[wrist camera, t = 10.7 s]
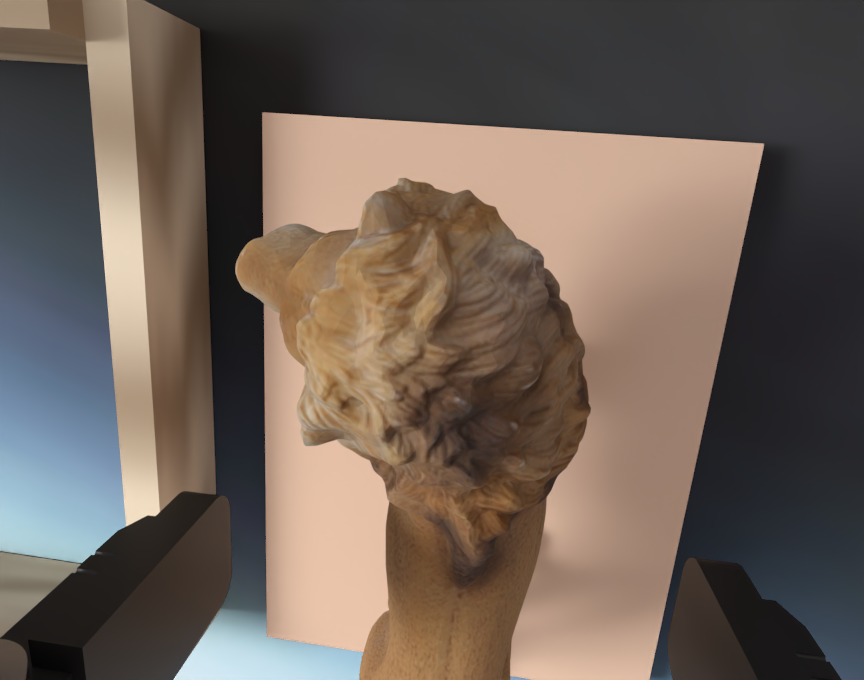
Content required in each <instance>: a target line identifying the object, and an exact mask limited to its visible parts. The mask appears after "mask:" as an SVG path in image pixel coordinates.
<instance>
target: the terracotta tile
mask: <svg viewBox="0 0 864 680" xmlns="http://www.w3.org/2000/svg"><path fill="white" fill-rule="evenodd" d="M763 148H764V144H761V143H745V142H729V141H713V140H697V139H681V138H665V137H649V136H633V135H617V134H601V133H585V132H569V131H553V130H537V129H521V128H505V127H489V126H474V125H458V124H442V123H426V122H410V121H394V120H378V119H362V118H346V117H330V116H314V115H298V114H282V113H266V112H262V149H263V237H264V236H265V235H266V234H268V233H269V232H271V231H273V230H275V229H276V228H278V227H281V226H284V225H287V224H302V225H305V226H308V227H311V228H312V229H314V230H316V231H318V232H322V233H329V232H331V231H337V230H350V229H355V228H358V227H359V223H360V220H361V217H362V211H363V206H364V204H365V202H366V201H367V200H368V199H369V198H370V197H371V196H372V195H373V194H374V193H375V192H377V191H384V190H386V189H388V188H390V187H392V186H396V184H397V182H398V179H399V178H407V179H409V180H411V181H415V182H426V183H429V184H431V185H432V186H433V187H434V188H435V189H439V190H442V191H446V192H450V193H453V194H455V193H457V192H460V191H463V190H466V189H467V190H470V191H471V192H472V193H473V194H474V195H475V196H476V197H477V198H478V199H479V200H481V201H482V202H483V203H485V204H487V205H491V206H494V207H496V209H497V211H498V214H499V216H500V217H501V219H502V220H503V222H504V223H505V224H506V225H507V226H508V227H509V228H510V229H511V230H512V231H513V233H514V235H515V236H516V238H517V239H519V240H523V241H524V242H526V243H528V244H529V245H531V246H532V247H534V248H536V249H538V250H539V251H540V252H541V254H542V255H543V257H544V268H546V269H548V270H549V271H550V272H551V273H552V274H553V276H554V277H555V278H556V280H557V281H558V283H559V285H560V295H559V296H560V299H561V300H563V301H564V302H566V303H568V305H569V307H570V310H571V312H572V317H573V323H574V326H575V329H576V331H577V333H578V335H579V336H580V338H581V339H582V340H583V343H584V346H585V355H584V357H583V359H582V366H583V375H584V377H585V379H586V381H587V387H588V396H589V405H590V407H591V412H590V415H589V416H588V418H587V425H586V429H585V433H584V436H583V439H582V440H581V442H580V443H579V447H578V451H577V453H576V454H575V456H574V457H573V459H572V461H571V462H570V463H569V464H568V466H567V468H566V469H565V470H563V471H562V472H561V473H560V474H559V475H558V477H557V478H556V480H555V483H554V485H553V488H552V490H551V492H550V493H549V495H548V496H547V503H546V515H545V522H544V529H543V534H542V540H541V546H540V551H539V555H538V559H537V563H536V566H535V570H534V573H533V576H532V579H531V582H530V585H529V588H528V591H527V594H526V597H525V600H524V603H523V606H522V609H521V612H520V615H519V618H518V621H517V624H516V627H515V630H514V633H513V636H512V642H511V659H510V676H515V677H521V678H527V679H533V680H649V679H650V674H651V670H652V665H653V661H654V656H655V651H656V647H657V642H658V637H659V633H660V628H661V623H662V619H663V614H664V609H665V605H666V600H667V595H668V591H669V586H670V581H671V577H672V572H673V567H674V563H675V558H676V553H677V549H678V544H679V539H680V535H681V530H682V525H683V521H684V516H685V511H686V507H687V502H688V497H689V493H690V488H691V483H692V479H693V474H694V469H695V465H696V460H697V455H698V451H699V446H700V441H701V437H702V432H703V428H704V423H705V418H706V414H707V409H708V404H709V400H710V395H711V390H712V386H713V381H714V376H715V372H716V367H717V362H718V358H719V353H720V348H721V344H722V339H723V334H724V330H725V325H726V320H727V316H728V311H729V306H730V302H731V297H732V292H733V288H734V283H735V278H736V274H737V269H738V264H739V260H740V255H741V250H742V246H743V241H744V236H745V232H746V227H747V222H748V218H749V213H750V209H751V204H752V199H753V195H754V190H755V185H756V181H757V176H758V171H759V167H760V162H761V157H762V153H763ZM279 317H280V313H278V312H275V311H273V310H272V309H270V308H269V307H267V306H266V305H265V304H264V373H265V484H266V596H267V637H273V638H279V639H285V640H291V641H298V642H304V643H310V644H316V645H322V646H329V647H335V648H341V649H347V650H353V651H360V652H364V649H365V645H366V642H367V638H368V635H369V633H370V631H371V628H372V626H373V625H374V623H375V622H376V621H377V619H378V618H379V617H380V616H381V615H382V614H383V613H384V612H386V611H388V610H389V608H388V586H387V575H386V520H387V513H388V506H389V500H388V499H387V494H386V488H385V483H384V481H383V479H382V477H380V476H379V475H378V474H377V473H376V472H375V471H374V470H373V468H372V465H371V462H370V460H367V459H365V458H363V457H361V456H359V455H358V454H356V453H355V452H353V451H352V450H350V449H348V448H345V447H343V446H342V445H341V444H340V443H339V442H338V441H337V440H334V441H331V442H327V443H324V444H321V445H317V446H305V445H304V443H303V440H302V436H301V433H300V431H301V423H300V422H299V420H298V417H297V413H296V410H297V403H298V401H299V399H300V396H301V393H302V391H303V388H304V385H305V379H304V370H305V367H304V366H303V365H301V364H300V363H299V362H298V361H297V360H295V359H294V357H293V356H292V355H291V354H290V353H289V352H288V350H287V348H286V346H285V343H284V338H283V333H282V330H281V327H280V321H279Z"/></svg>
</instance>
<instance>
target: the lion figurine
mask: <svg viewBox="0 0 864 680" xmlns="http://www.w3.org/2000/svg"><path fill="white" fill-rule="evenodd" d="M235 273H236V276H237V279H238V281H239V283H240V285H241V287H242V288H243V289H244V290H245V291H247V292H249V293H251V294H252V295H254V296H255V297H257V298H258V299H260V300H261V301H262V302H263V303H264V304H265V305H266V306H267V307H269V308H270V309H272V310H273V311H275V312H278V313H280V317H279V321H280V327H281V330H282V333H283V338H284V343H285V346H286V348H287V350H288V352H289V353H290V354H291V355H292V356H293V357H294V359H295V360H297V361H298V362H299V363H300V364H301V365H303V366H304V367H305V370H304V379H305V385H304V388H303V391H302V393H301V396H300V399H299V401H298V403H297V410H296V413H297V417H298V420H299V422H300V423H301V431H300V433H301V436H302V440H303V443H304V445H305V446H317V445H321V444H324V443H327V442H331V441H334V440H337V441H338V442H339V443H340V444H341V445H342V446H343V447H345V448H348V449H350V450H352V451H353V452H355V453H356V454H358V455H359V456H361V457H363V458H365V459H367V460H370V462H371V465H372V468H373V470H374V471H375V472H376V473H377V474H378V475H379V476H380V477H382V479H383V481H384V483H385V488H386V494H387V499H388V500H389V506H388V513H387V520H386V575H387V586H388V608H389V610H388V611H386V612H384V613H383V614H382V615H381V616H380V617H379V618H378V619H377V621H376V622H375V623H374V625H373V626H372V628H371V631H370V633H369V635H368V638H367V642H366V645H365V649H364V652H363V656H362V661H361V667H360V674H359V680H510V659H511V642H512V636H513V633H514V630H515V627H516V624H517V621H518V618H519V615H520V612H521V609H522V606H523V603H524V600H525V597H526V594H527V591H528V588H529V585H530V582H531V579H532V576H533V573H534V570H535V566H536V563H537V559H538V555H539V551H540V546H541V540H542V534H543V529H544V522H545V515H546V503H547V496H548V495H549V493H550V492H551V490H552V488H553V485H554V483H555V480H556V478H557V477H558V475H559V474H560V473H561V472H562V471H563V470H565V469H566V468H567V466H568V464H569V463H570V462H571V461H572V459H573V457H574V456H575V454H576V453H577V451H578V447H579V443H580V442H581V440H582V439H583V436H584V433H585V429H586V425H587V418H588V416H589V415H590V412H591V407H590V405H589V396H588V387H587V381H586V379H585V377H584V375H583V366H582V359H583V357H584V355H585V346H584V343H583V340H582V339H581V338H580V336H579V335H578V333H577V331H576V329H575V326H574V323H573V317H572V312H571V310H570V307H569V305H568V303H566V302H564V301H563V300H561V299H560V296H559V295H560V285H559V283H558V281H557V280H556V278H555V277H554V276H553V274H552V273H551V272H550V271H549V270H548V269H546V268H544V257H543V255H542V254H541V252H540V251H539V250H538V249H536V248H534V247H532V246H531V245H529V244H528V243H526V242H524V241H523V240H519V239H517V238H516V236H515V235H514V233H513V231H512V230H511V229H510V228H509V227H508V226H507V225H506V224H505V223H504V222H503V220H502V219H501V217H500V216H499V214H498V211H497V209H496V207H494V206H491V205H487V204H485V203H483V202H482V201H481V200H479V199H478V198H477V197H476V196H475V195H474V194H473V193H472V192H471V191H470V190H467V189H466V190H463V191H460V192H457V193H455V194H453V193H450V192H446V191H442V190H439V189H435V188H434V187H433V186H432V185H431V184H429V183H426V182H415V181H411V180H409V179H407V178H399V179H398V182H397V184H396V186H392V187H390V188H388V189H386V190H384V191H377V192H375V193H374V194H373V195H372V196H371V197H370V198H369V199H368V200H367V201H366V202H365V204H364V206H363V211H362V217H361V220H360V223H359V227H358V228H355V229H350V230H337V231H331V232H329V233H322V232H318V231H316V230H314V229H312V228H311V227H308V226H305V225H302V224H287V225H284V226H281V227H278V228H276V229H275V230H273V231H271V232H269V233H268V234H266V235H265V236H264V237H260V238H256V239H253V240H251V241H250V242H248V243H247V245H246V246H245V247H244V248H243V250H242V251H241V253H240V255H239V257H238V259H237V261H236V267H235Z"/></svg>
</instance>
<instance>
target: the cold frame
mask: <svg viewBox="0 0 864 680" xmlns="http://www.w3.org/2000/svg"><path fill="white" fill-rule="evenodd" d="M0 60H14V61H32V62H50V63H68V64H86V65H88V75H89V87H90V99H91V111H92V123H93V135H94V147H95V159H96V171H97V183H98V194H99V206H100V218H101V230H102V242H103V254H104V266H105V278H106V290H107V302H108V314H109V326H110V338H111V349H112V361H113V373H114V385H115V397H116V409H117V421H118V433H119V445H120V457H121V469H122V481H123V493H124V504H125V516H126V526H128V525H130V524H132V523H134V522H136V521H138V520H140V519H142V518H144V517H145V516H147V515H149V516H156V515H157V514H158V513H159V512H160V511H161V510H163V509H164V508H165V507H166V506H167V505H168V504H169V503H170V502H171V501H172V500H173V499H174V498H175V497H176V496H177V495H178V494H179V493H181V492H183V491H190V492H197V493H205V494H213V495H216V474H215V445H214V417H213V388H212V359H211V331H210V302H209V274H208V245H207V217H206V188H205V159H204V131H203V102H202V74H201V45H200V29H199V28H197V27H195V26H193V25H191V24H189V23H188V22H186V21H184V20H182V19H180V18H178V17H176V16H174V15H172V14H170V13H168V12H166V11H164V10H162V9H160V8H158V7H156V6H154V5H152V4H150V3H148V2H146V1H144V0H0ZM80 565H81V564H77V563H71V562H64V561H57V560H51V559H44V558H38V557H31V556H25V555H18V554H12V553H5V552H0V637H2V636H3V635H4V634H5V633H6V632H7V631H8V630H9V629H10V628H11V627H13V626H14V625H15V624H16V623H17V622H18V621H19V620H20V619H21V618H22V617H24V616H25V615H26V614H27V613H28V612H29V611H30V610H31V609H32V608H33V607H35V606H36V605H37V604H38V603H39V602H40V601H41V600H42V599H43V598H44V597H46V596H47V595H48V594H49V593H50V592H51V591H52V590H53V589H54V588H56V587H57V586H58V585H59V584H60V583H61V582H62V581H63V580H64V579H65V578H67V577H68V576H69V575H70V574H71V573H75V572H76V571H77V568H78V567H79V566H80ZM219 611H220V609H219ZM219 611H218V612H217V614H218V613H219ZM217 614H216V615H217ZM215 617H216V616H215ZM215 617H214V618H215ZM213 620H214V619H213ZM213 620H212V621H213ZM211 623H212V622H211ZM211 623H210V624H211ZM209 626H210V625H209ZM209 626H208V627H209ZM207 629H208V628H207ZM207 629H206V630H207ZM205 632H206V631H205ZM205 632H204V633H205ZM203 635H204V634H203ZM203 635H202V636H203ZM201 638H202V637H201ZM201 638H200V639H201ZM199 641H200V640H199ZM199 641H198V642H199ZM197 644H198V643H197ZM197 644H196V645H197ZM195 647H196V646H195ZM195 647H194V648H195ZM192 651H193V650H192ZM190 654H191V653H190ZM188 657H189V656H188ZM186 660H187V659H186ZM184 663H185V662H184ZM182 666H183V665H182ZM180 669H181V668H180ZM178 672H179V671H178ZM176 675H177V674H176ZM174 678H175V677H174Z"/></svg>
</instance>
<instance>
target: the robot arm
mask: <svg viewBox="0 0 864 680" xmlns="http://www.w3.org/2000/svg"><path fill="white" fill-rule="evenodd" d="M231 575H232V554H231V522H230V504H229V501H228V499H227V497H225V496H221V495H213V494H205V493H197V492H190V491H183V492H181V493H179V494H178V495H177V496H176V497H175V498H174V499H173V500H172V501H171V502H170V503H169V504H168V505H167V506H166V507H165V508H164V509H163V510H161V511H160V512H159V513H158V514H157V515H156V516H149V515H147V516H145V517H144V518H142V519H140V520H138V521H136V522H134V523H132V524H130V525H128V526H126V527H124V528H122V529H121V530H119V531H117V532H116V533H115V534H114V535H113V536H112V537H111V538H110V539H108V540H107V541H106V542H105V543H104V544H103V545H102V546H101V547H100V548H98V549H97V550H96V553H95V555H91V556H90V557H89V558H87V559H86V560H85V561H84V562H83V563H82V564H81V565H80V566H79V567H78V568H77V571H76V572H75V573H71V574H70V575H69V576H68V577H67V578H65V579H64V580H63V581H62V582H61V583H60V584H59V585H58V586H57V587H56V588H54V589H53V590H52V591H51V592H50V593H49V594H48V595H47V596H46V597H44V598H43V599H42V600H41V601H40V602H39V603H38V604H37V605H36V606H35V607H33V608H32V609H31V610H30V611H29V612H28V613H27V614H26V615H25V616H24V617H22V618H21V619H20V620H19V621H18V622H17V623H16V624H15V625H14V626H13V627H11V628H10V629H9V630H8V631H7V632H6V633H5V634H4V635H3V636H2V637H0V680H173V679H174V677H175V676H176V674H177V673H178V671H179V670H180V668H181V667H182V665H183V664H184V662H185V661H186V659H187V658H188V656H189V655H190V653H191V652H192V650H193V649H194V647H195V646H196V644H197V643H198V641H199V640H200V638H201V637H202V635H203V634H204V632H205V631H206V629H207V628H208V626H209V625H210V623H211V622H212V620H213V619H214V617H215V616H216V614H217V612H218V611H219V609H220V608H221V606H222V604H223V602H224V600H225V598H226V595H227V593H228V589H229V586H230V581H231ZM668 657H669V665H670V670H671V674H672V677H673V680H841V678H840V677H839V675H838V674H837V672H836V671H835V669H834V668H833V666H832V665H831V664H830V662H826V660H825V655H824V653H823V652H822V650H821V649H820V647H819V646H818V644H817V643H816V642H815V640H814V639H813V637H812V636H811V634H810V633H809V631H808V630H807V628H806V627H805V626H804V625H803V624H801V623H800V622H799V621H798V620H797V619H796V618H795V617H793V616H792V615H791V614H790V613H789V612H788V611H786V610H785V609H784V608H783V607H782V606H781V605H780V604H778V603H777V602H776V601H773V600H765V599H762V598H761V596H760V594H759V593H758V591H757V590H756V588H755V586H754V585H753V583H752V582H751V580H750V578H749V577H748V575H747V574H746V572H745V570H744V569H743V568H742V566H740V565H739V564H737V563H730V562H722V561H715V560H707V559H699V558H689V559H688V560H687V561H686V562H685V565H684V568H683V572H682V576H681V581H680V585H679V590H678V594H677V599H676V603H675V608H674V612H673V617H672V621H671V626H670V631H669V637H668Z"/></svg>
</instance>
